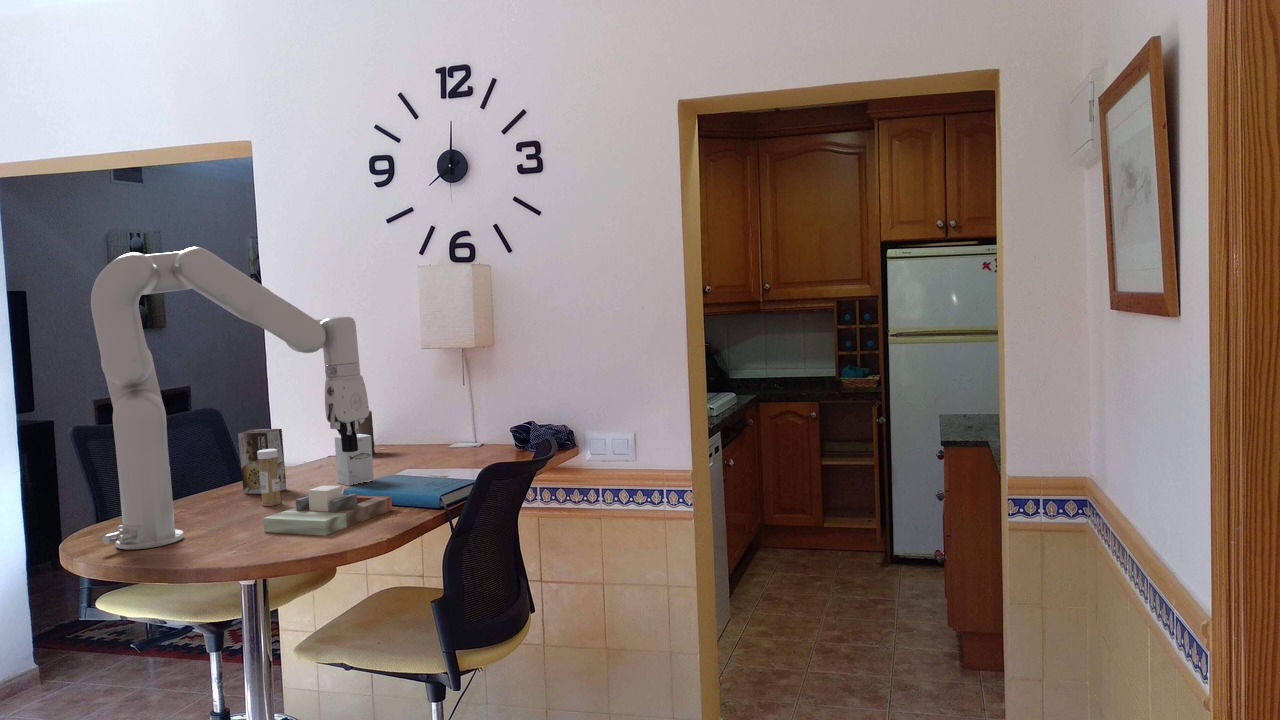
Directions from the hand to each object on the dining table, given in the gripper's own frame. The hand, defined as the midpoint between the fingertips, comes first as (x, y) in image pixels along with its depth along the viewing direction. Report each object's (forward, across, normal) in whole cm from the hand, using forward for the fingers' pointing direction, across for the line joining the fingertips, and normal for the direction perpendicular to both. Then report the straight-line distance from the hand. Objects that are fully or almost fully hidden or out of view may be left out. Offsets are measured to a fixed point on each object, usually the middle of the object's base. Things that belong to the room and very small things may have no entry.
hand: (350, 451), depth 215 cm
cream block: (+11, -9, 0) cm, 14 cm away
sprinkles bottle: (+14, +3, +28) cm, 31 cm away
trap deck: (+14, -8, +1) cm, 16 cm away
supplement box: (+14, +30, +24) cm, 41 cm away
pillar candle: (+15, +69, +53) cm, 88 cm away
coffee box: (+14, +16, +42) cm, 47 cm away
